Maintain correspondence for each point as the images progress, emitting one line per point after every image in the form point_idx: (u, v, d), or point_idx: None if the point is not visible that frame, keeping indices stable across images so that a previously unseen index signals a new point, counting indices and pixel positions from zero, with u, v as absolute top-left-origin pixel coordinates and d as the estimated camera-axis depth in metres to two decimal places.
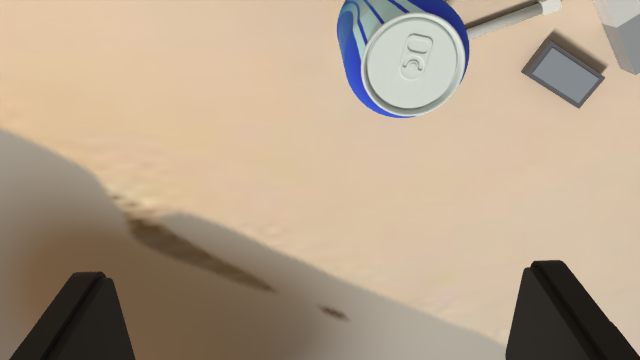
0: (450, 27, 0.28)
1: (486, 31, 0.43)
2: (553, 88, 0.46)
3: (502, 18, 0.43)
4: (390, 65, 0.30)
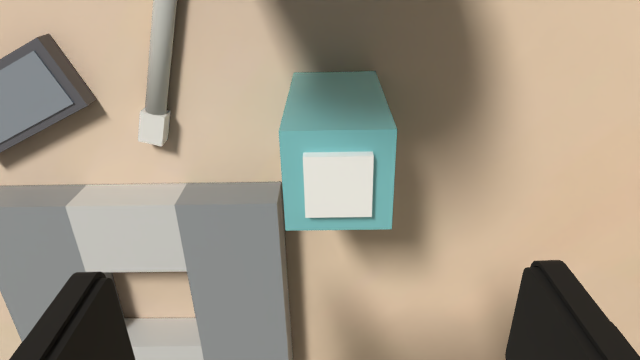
0: None
1: (157, 5, 0.21)
2: None
3: (168, 45, 0.22)
4: None
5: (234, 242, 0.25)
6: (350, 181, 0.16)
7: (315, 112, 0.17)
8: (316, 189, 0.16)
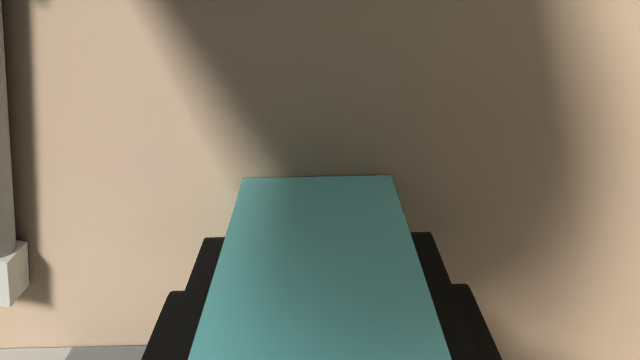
0: None
1: None
2: None
3: None
4: None
5: None
6: None
7: (265, 356, 0.07)
8: None
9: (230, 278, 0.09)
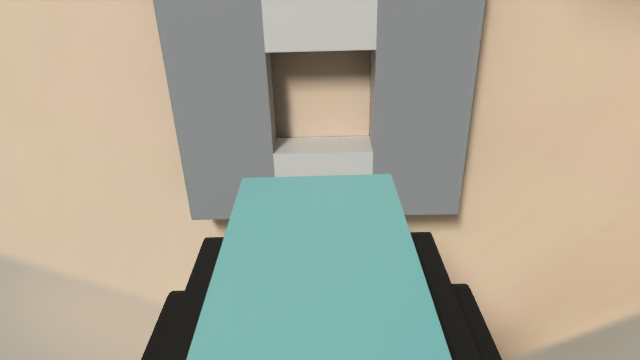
0: None
1: None
2: None
3: None
4: None
5: (435, 8, 0.23)
6: None
7: (264, 356, 0.07)
8: None
9: (229, 278, 0.09)
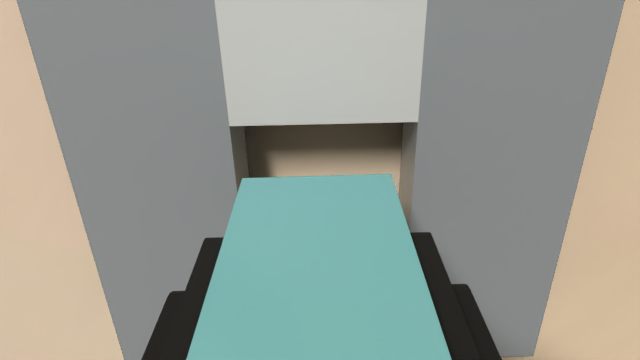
0: None
1: None
2: None
3: None
4: None
5: (524, 55, 0.13)
6: None
7: (264, 357, 0.07)
8: None
9: (228, 279, 0.09)
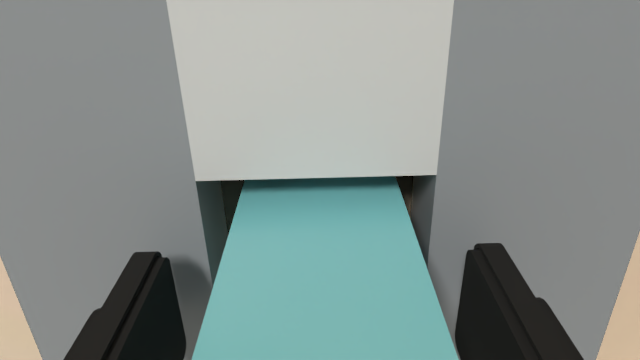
0: None
1: None
2: None
3: None
4: None
5: (575, 92, 0.10)
6: None
7: (274, 313, 0.08)
8: None
9: (240, 249, 0.10)
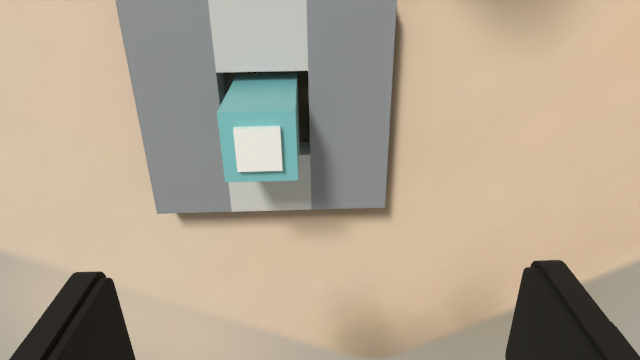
0: None
1: None
2: None
3: None
4: None
5: (354, 38, 0.28)
6: (266, 145, 0.24)
7: (244, 101, 0.25)
8: (243, 151, 0.24)
9: (233, 91, 0.27)
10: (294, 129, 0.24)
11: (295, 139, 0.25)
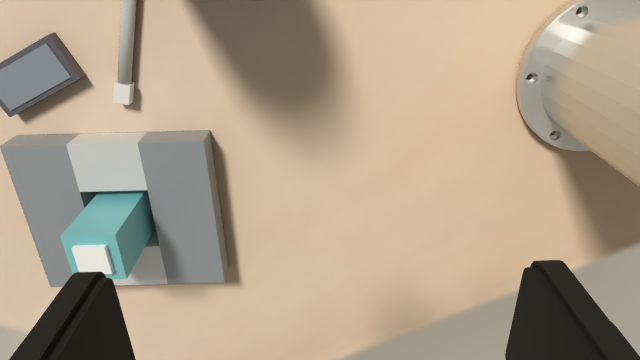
0: None
1: (123, 14, 0.34)
2: (15, 59, 0.35)
3: (131, 39, 0.35)
4: None
5: (177, 168, 0.38)
6: (96, 258, 0.34)
7: (87, 222, 0.36)
8: (81, 262, 0.34)
9: (87, 210, 0.37)
10: (117, 246, 0.34)
11: (119, 253, 0.35)
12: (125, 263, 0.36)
